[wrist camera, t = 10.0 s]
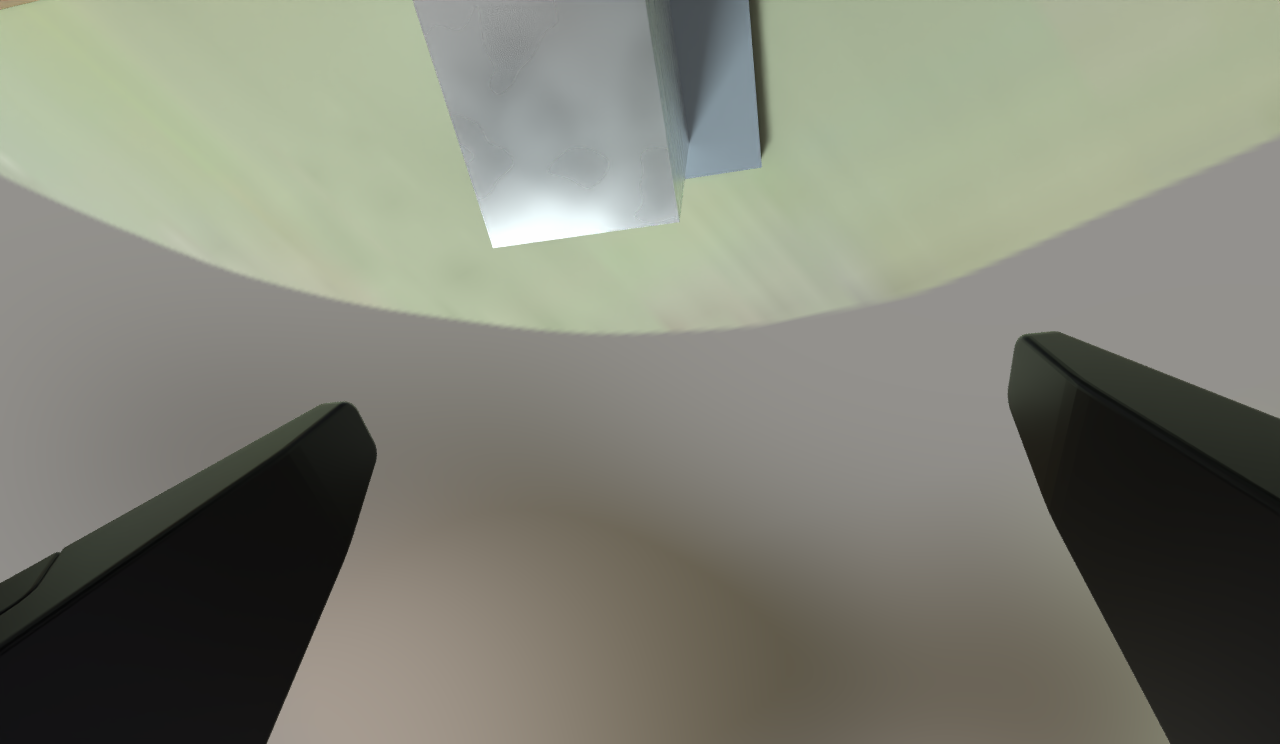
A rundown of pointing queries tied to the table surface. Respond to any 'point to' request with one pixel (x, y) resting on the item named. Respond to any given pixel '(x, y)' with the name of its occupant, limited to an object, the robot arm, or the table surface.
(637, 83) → the metal block
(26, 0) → the brown wooden tray
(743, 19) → the rest mat
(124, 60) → the table surface
